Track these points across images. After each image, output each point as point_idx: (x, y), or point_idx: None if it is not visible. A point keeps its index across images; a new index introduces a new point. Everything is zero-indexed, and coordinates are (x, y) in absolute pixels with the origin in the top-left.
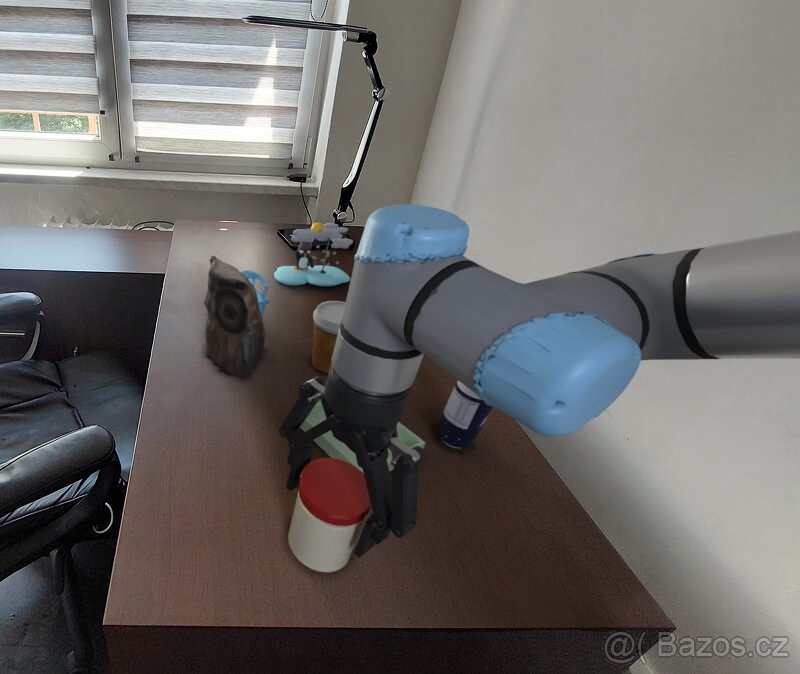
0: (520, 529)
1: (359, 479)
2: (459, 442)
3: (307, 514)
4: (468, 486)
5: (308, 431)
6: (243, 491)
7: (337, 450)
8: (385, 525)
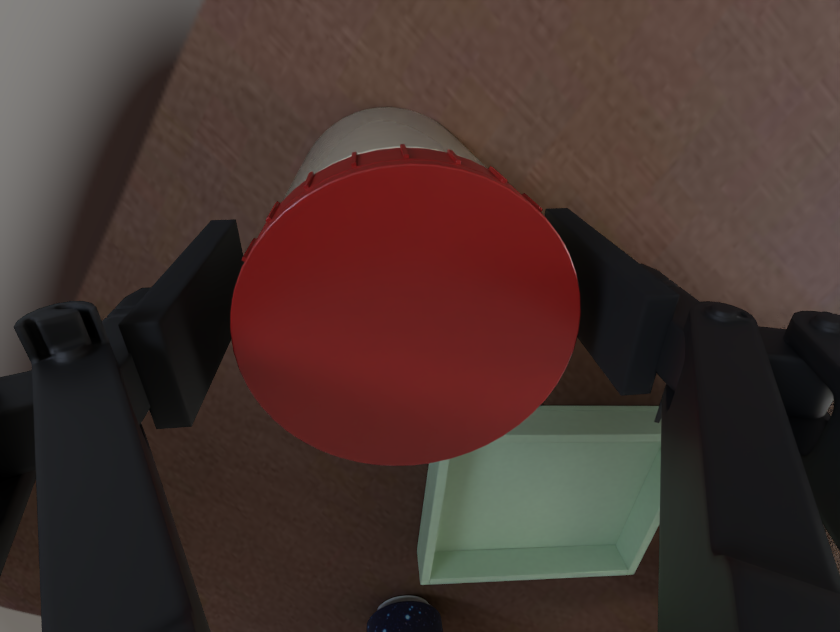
0: (188, 564)
1: (375, 436)
2: (381, 624)
3: (409, 145)
4: (307, 562)
5: (792, 474)
6: (651, 126)
7: (543, 433)
8: (35, 364)
